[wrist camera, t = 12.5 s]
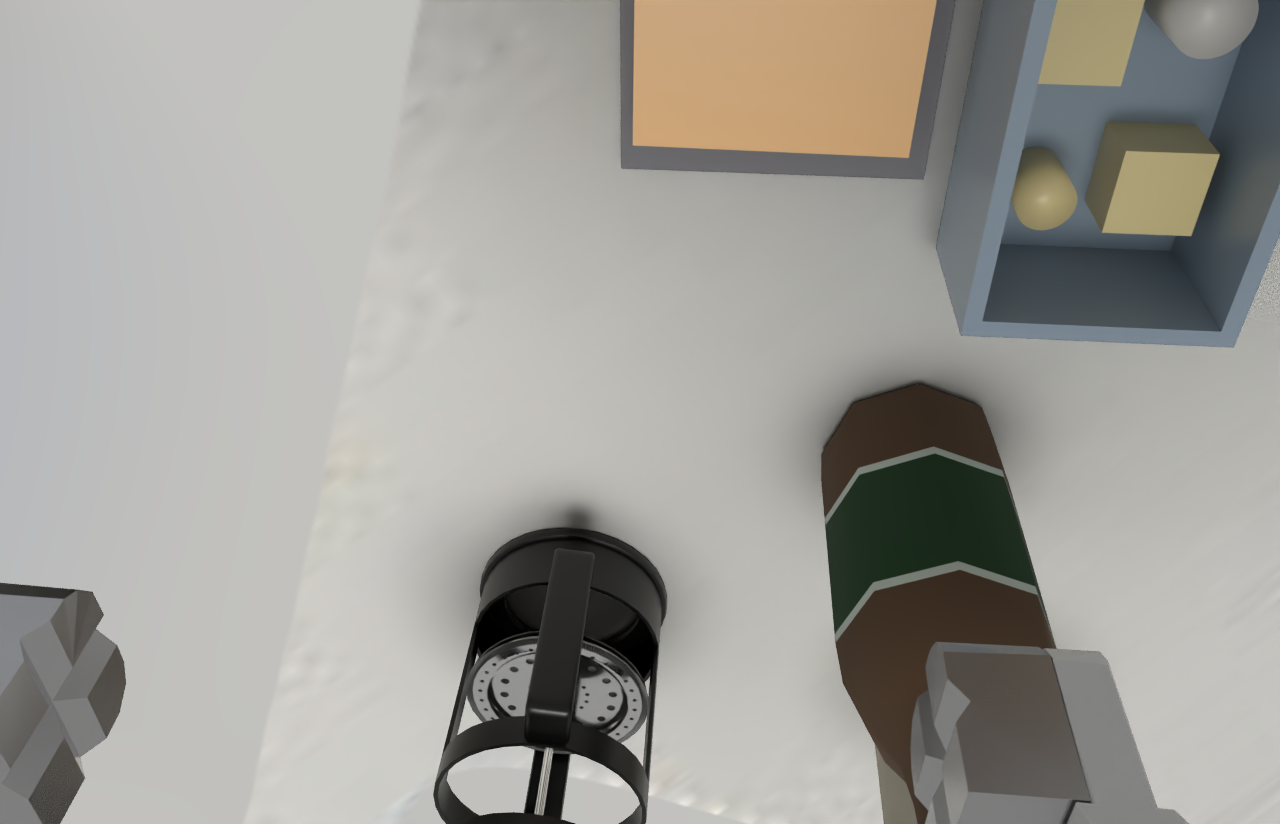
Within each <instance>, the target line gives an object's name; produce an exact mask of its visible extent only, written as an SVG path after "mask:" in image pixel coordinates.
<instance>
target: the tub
mask: <svg viewBox="0 0 1280 824" xmlns="http://www.w3.org/2000/svg"><path fill="white" fill-rule="evenodd" d="M1279 235H1280V0H984V2H983V8H982V13H981V18H980V23H979V28H978V33H977V39H976V44H975V49H974V54H973V59H972V64H971V70H970V75H969V80H968V85H967V90H966V95H965V101H964V106H963V111H962V116H961V121H960V126H959V132H958V137H957V142H956V147H955V152H954V157H953V163H952V168H951V173H950V178H949V183H948V188H947V194H946V199H945V204H944V209H943V214H942V219H941V225H940V230H939V235H938V240H937V245H936V250H937V253H938V257H939V260H940V264H941V268H942V271H943V275H944V278H945V282H946V285H947V289H948V292H949V296H950V299H951V303H952V306H953V310H954V313H955V317H956V320H957V324H958V327H959V331H960V334H961V336H982V337H1005V338H1027V339H1050V340H1073V341H1096V342H1118V343H1141V344H1164V345H1187V346H1209V347H1232V348H1234V345H1235V343H1236V341H1237V338H1238V336H1239V333H1240V331H1241V328H1242V326H1243V323H1244V321H1245V319H1246V316H1247V314H1248V311H1249V309H1250V306H1251V304H1252V301H1253V299H1254V296H1255V294H1256V292H1257V289H1258V287H1259V284H1260V282H1261V279H1262V277H1263V274H1264V272H1265V270H1266V267H1267V265H1268V262H1269V260H1270V257H1271V255H1272V252H1273V250H1274V247H1275V245H1276V243H1277V240H1278V238H1279Z"/></svg>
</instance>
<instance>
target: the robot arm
mask: <svg viewBox="0 0 1280 824" xmlns="http://www.w3.org/2000/svg"><path fill="white" fill-rule="evenodd" d="M103 615H104V614H103V612H102V610H101V608H100V607H99V604H98V602H97V600H96V598H95V596H94V594H93V592H89V591H83V590H75V589H64V588H52V587H41V586H30V585H19V584H8V583H0V824H60V823H61V821H62V819H63V817H64V816H65V814H66V812H67V810H68V808H69V806H70V805H71V803H72V801H73V799H74V797H75V795H76V794H77V791H78V790H79V788H80V786H81V784H82V782H83V781H84V779H85V776H84V771H83V767H82V762H81V758H80V757H81V756H82V755H84V754H85V753H87V752H88V751H89V750H91V749H92V748H94V747H95V746H96V745H98V744H99V743H100V742H102V741H103V740H105V739H106V738H107V736H108V734H109V732H110V730H111V728H112V726H113V724H114V722H115V720H116V718H117V717H118V714H119V712H120V708H121V703H122V699H123V694H124V690H125V685H126V679H125V668H124V661H123V659H122V656H121V654H120V651H119V649H118V646H117V645H116V644H115V643H114V642H112V641H111V640H110V639H108V638H107V637H106V636H104V635H103V634H102V633H100V632H99V631H98V630H96V627H97V625H98V624H99V622H100V620H101V619H102V617H103ZM925 670H926V676H927V683H928V689H929V690H927V691H926V692H924V693H923V694H922V695H920V696H919V697H917V701H916V706H915V710H914V715H913V719H912V732H911V746H910V750H911V768H912V778H913V786H914V794H915V796H916V797H917V798H918V799H919V801H920V802H921V803H922V804H923V805H924V806H925V807H926V809H927V810H928V814H927V818H926V821H925V824H1189V823H1188V822H1187V821H1186V820H1185V819H1184V818H1183V817H1182V816H1181V815H1180V814H1179V813H1177V812H1176V811H1175V810H1172V809H1162V808H1157V805H1156V802H1155V799H1154V796H1153V793H1152V790H1151V787H1150V784H1149V781H1148V778H1147V775H1146V772H1145V769H1144V767H1143V764H1142V761H1141V758H1140V755H1139V752H1138V749H1137V746H1136V743H1135V740H1134V737H1133V734H1132V731H1131V728H1130V725H1129V722H1128V719H1127V716H1126V713H1125V710H1124V707H1123V704H1122V701H1121V698H1120V695H1119V692H1118V689H1117V686H1116V684H1115V681H1114V678H1113V675H1112V672H1111V669H1110V666H1109V663H1108V661H1107V659H1106V658H1105V657H1104V656H1103V655H1102V654H1101V653H1100V652H1097V651H1081V650H1065V649H1048V648H1044V649H1041V648H1039V647H1028V646H1008V645H988V644H968V643H948V642H935V643H934V645H933V646H932V648H931V649H930V652H929V655H928V659H927V662H926V666H925Z"/></svg>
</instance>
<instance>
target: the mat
mask: <svg viewBox="0 0 1280 824" xmlns="http://www.w3.org/2000/svg"><path fill="white" fill-rule="evenodd" d="M955 1H956V0H937V2H936V7H935V13H934V19H933V24H932V30H931V35H930V41H929V47H928V52H927V58H926V64H925V69H924V75H923V80H922V86H921V92H920V97H919V103H918V108H917V114H916V120H915V125H914V131H913V136H912V142H911V148H910V153H909V158H899V157H877V156H855V155H833V154H811V153H789V152H766V151H744V150H722V149H700V148H678V147H656V146H634V145H633V76H634V0H620V24H621V168H624V169H652V170H679V171H706V172H734V173H761V174H789V175H816V176H844V177H871V178H898V179H924V175H925V169H926V164H927V158H928V153H929V147H930V141H931V136H932V130H933V124H934V119H935V113H936V108H937V102H938V96H939V91H940V85H941V80H942V74H943V68H944V63H945V57H946V51H947V46H948V40H949V35H950V29H951V23H952V18H953V12H954V7H955Z"/></svg>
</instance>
